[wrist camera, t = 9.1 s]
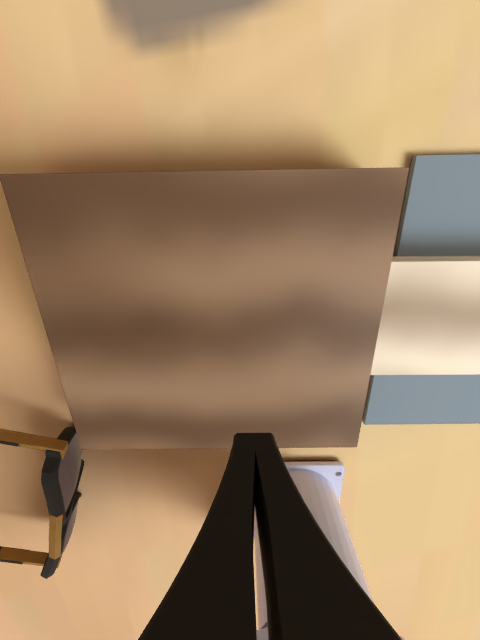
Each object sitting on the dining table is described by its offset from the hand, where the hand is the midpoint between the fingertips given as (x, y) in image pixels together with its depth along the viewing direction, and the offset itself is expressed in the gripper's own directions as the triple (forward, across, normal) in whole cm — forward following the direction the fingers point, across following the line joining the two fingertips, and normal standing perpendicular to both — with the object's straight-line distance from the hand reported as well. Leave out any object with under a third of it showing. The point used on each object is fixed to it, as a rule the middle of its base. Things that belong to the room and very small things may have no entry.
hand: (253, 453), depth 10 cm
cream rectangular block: (+9, -12, -2) cm, 16 cm away
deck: (+9, +2, -2) cm, 10 cm away
